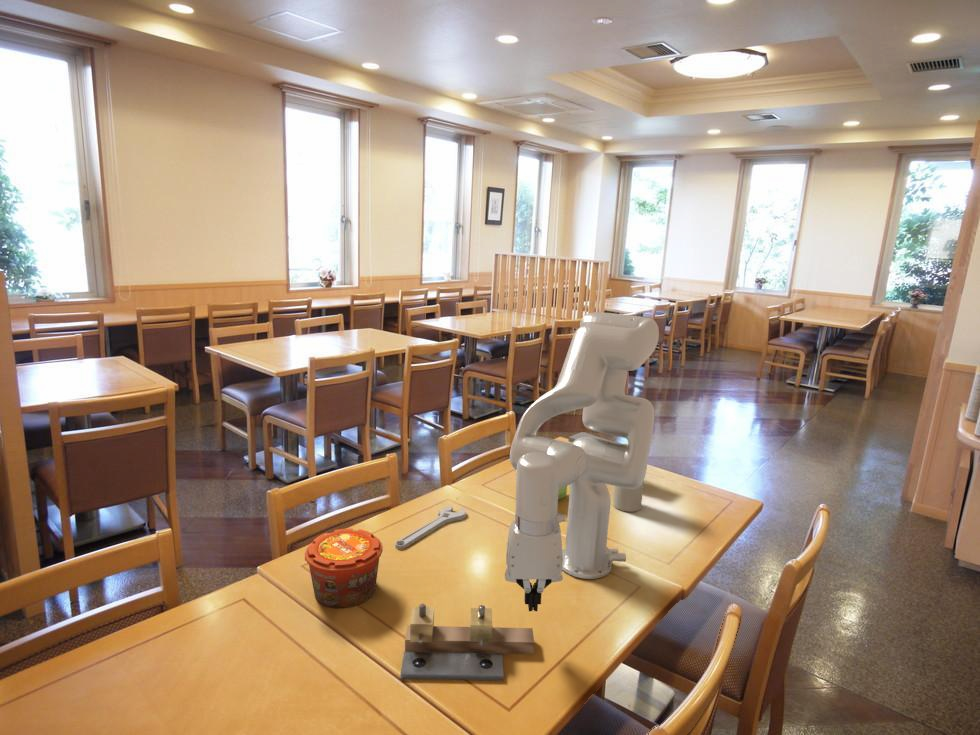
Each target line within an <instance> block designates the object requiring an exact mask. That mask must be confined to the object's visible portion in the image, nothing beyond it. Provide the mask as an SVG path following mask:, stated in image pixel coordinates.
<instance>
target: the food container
mask: <svg viewBox="0 0 980 735" xmlns="http://www.w3.org/2000/svg"><path fill="white" fill-rule="evenodd" d="M383 547H384V546H383V544H382V541H381V540H380V539H379V538H378V537H377V536H375V535H374V534H373V533H372V532H370V531H367V530H364V529H356V530H355V529H353V528H340V529H339V528H338V529H334V531H333V532H330V533H327V532H325V533H322V534H321V535H318V536H317V537H316V538H315V539H313V541H312V542H310V543H309V544H308V545H307V547H306V549H305V551H304V561H305V562H306V563H307V564H306V565H307V566H308V567H309V568H308V569H309V572H310V578H311V583H312V588H313V595H314V598H315V600H317V602H318V603H320V604H321V605H322V606H325V607H328V608H333V609H334V608H335V609H346V608H347V609H348V608H351V607H355V606H358V605H360V604H362V603H364V602H366V601H367V600H369V599H370V598H372V596H373V595H374V593H375V592H376V588H377V581H378V580H377V579H378V571H379V564H380V557H381V555H382V553H383Z"/></svg>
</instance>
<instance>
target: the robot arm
mask: <svg viewBox="0 0 980 735" xmlns="http://www.w3.org/2000/svg"><path fill="white" fill-rule="evenodd" d="M659 337H660V331H659V325H658V324H657V322H656V320H655V319H652V318H650V317H647V316H646V317H645V316H637V315H628V314H620V313H613V312H590V313H586V314H585V315H583V316H582V318H581V319H580V322H579V327H578V329H576V330H575V332H574V334H573V336H572V338H571V340H570V341H571V342H570V344H569V347H568V351H567V353H566V356H565V359H564V362H563V363H562V364H563V365H562V368H561V371H560V373H559V376H558V378H557V382H556V385H555V386H554V387H553V388H551V389H550V390H549V391H547V392H545V393H543V394H542V395H541V396H540V397H538V398H537V399H536V400H535V401H534V402H533V403H531V404H530V406H529V407H527V409H526V410H525V412H524V413H523V415H522V416H521V417H520V419H519V423H518V425H517V428H516V430H515V433H514V436H513V439H512V441H511V446H510V452H509V462H510V466H512V468H513V469H514V470H515V471H516V478H515V479H516V480H515V481H516V483H515V484H516V485H515V486H516V487H515V488H516V490H515V491H516V492H515V518H514V520H513V521H512V522H511V523H510V526H509V531H508V536H507V542H506V543H507V544H506V562H505V563H506V569H505V573H504V580H505V581H506V582H510V583H516V584H517V585H518V586H519V587H521V589H523V590H524V605H527V607H528V612H533V611H534V612H538V611H539V610H538V609H539V608H538V606H539V605H542V593H543V592H544V591H545V589H546V588H547V587H548V586H549V585H550V584H552V583H558V582H562V581H563V574H562V573H563V572H565V573H567V574H568V575H570V576H571V577H572V576H573V577H576V578H578V579H584V580H585V579H586V580H595V579H600V578H604V577H605V576H607V575H608V574H609V573H610V572H611V570H612V563H613V562H626V561H627V555H626V552H619V549H618V548H609V547H608V546H607V544H608V534H609V524H610V521H609V520H610V512H611V501H612V500H611V499H612V498H611V494H610V491H609V488H608V487H607V485H610V486H614V487H615V486H618V487H622V488H627V489H637V488H639V487H640V486H641V485H642V483H643V481H645V478H646V474H647V469H648V462H649V458H650V450H651V445H652V438H653V433H654V426H655V408H654V406H653V403H652V402H651V401H650V400H648V399H647V398H644V397H639V396H634V395H629V394H626V392H625V389H626V384H627V377H628V371H629V372H631V371H636V370H638V369H640V367H642V365H644V363H645V362H646V361H647V360H648V359H649V358H650V357H651V356H652V354H653V353H654V352H655V350H656V348H657V345H658V342H659ZM580 409H581V410H582V423H583V425H584V427H585V428H586V429H588V430H589V431H592V432H597V433H600V434H604V435H610V436H614V437H620V438H624V439H626V440H627V443H620V442H615V441H613V440H610V441H608V440H609V439H606V440H603V439H604V438H603V439H599V438H593V437H581V438H578V439H576V440H575V441H574V442H573V443H572V442H569V441H568V442H567V441H561V440H558V439H553V438H549V437H544V436H540V435H537V433H538V431H539V429H540V428H541V427H542V425H543V424H544V423H545V422H547V421H549V420H550V419H552V418H553V417H556V416H558V415H561V414H565V413H569V412H573V411H576V410H580ZM612 441H613V442H612ZM626 444H628V445H626ZM565 486H567V487H568V486H569V494H568V495H569V497H568V507H567V508H568V509H567V519H566V514H562V513H559V511H558V506H559V499H558V491H559V489H561V488H563V487H565ZM566 521H567V522H566ZM565 522H566V533H565V534H566V535H565V544H564V545H565V547H564V549H563V544H562V531H561V530H562V529H561V526H560V523H565ZM531 580H535V582H534V583H533V584H532V582H531Z"/></svg>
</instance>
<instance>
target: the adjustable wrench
mask: <svg viewBox="0 0 980 735" xmlns="http://www.w3.org/2000/svg"><path fill="white" fill-rule="evenodd" d="M466 513H467V509H465V508H464V507H462V509H461V510H460V511H457V512H455V511H454V506H447V507H445V508H442V509H440V510H439V511H438V514H437V518H435V519H433V520H431V521H430V522H428V523H426V524H424V525H423V526H421V527H419V528H417V529H415V530H414V531H412V532H411V533H409V534H407V535H405V536H403V537H402V538H399V539H398V540H395V543H394V547H395V549H397V550H404V549H405V548H408V547H409V546H411V545H412V544H414V543H416V542H417V541H419V540H421V539H422V538H424V537H425V536H427V535H429V534H431V532H434V531H435V530H437V529H438V528H440V527H442V526H444V525H445V524H448V523H451V522H457V521H461V520H463V519H465V517H466V515H467V514H466ZM428 533H429V534H428ZM415 541H416V542H415ZM400 544H401V545H400ZM407 546H408V547H407Z"/></svg>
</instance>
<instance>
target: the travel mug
mask: <svg viewBox="0 0 980 735" xmlns="http://www.w3.org/2000/svg"><path fill="white" fill-rule="evenodd" d="M625 444H626V445H628V443H625ZM644 481H645V480H644ZM644 481H643V483H642V485H641V486H640V487H639V488H637V489H627V488H622V487H618V486H614V490H613V498H612V505H613V507H615V508H616V509H617V510H620V511H623V512H628V513H630V512H631V513H634V512H638V511H640V510H641V509H642V501H643V500H642V499H643V493H644V492H643V491H644V484H645V482H644Z"/></svg>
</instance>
